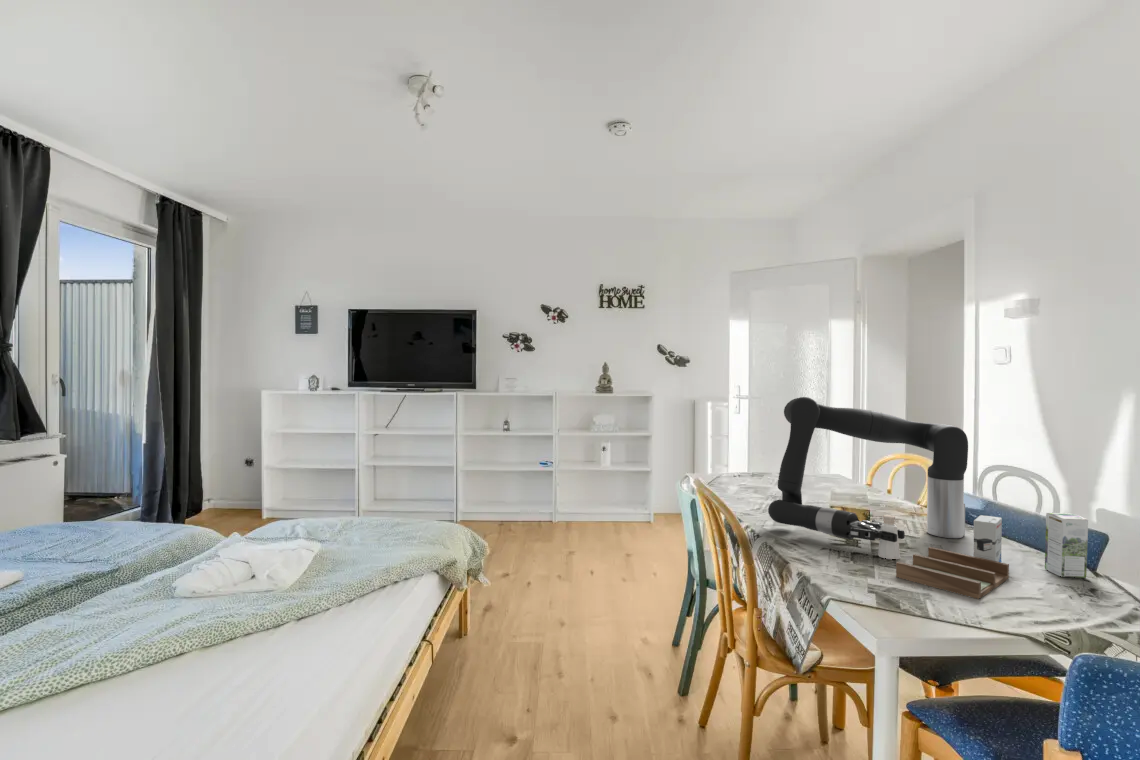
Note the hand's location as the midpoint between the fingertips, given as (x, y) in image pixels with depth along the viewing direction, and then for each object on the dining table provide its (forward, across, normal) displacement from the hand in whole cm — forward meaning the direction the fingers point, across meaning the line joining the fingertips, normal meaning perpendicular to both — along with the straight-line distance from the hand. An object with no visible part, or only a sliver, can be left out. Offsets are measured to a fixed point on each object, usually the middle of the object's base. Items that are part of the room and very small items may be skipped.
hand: (900, 536), depth 151 cm
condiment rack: (+14, -4, +6) cm, 16 cm away
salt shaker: (-3, 0, +6) cm, 7 cm away
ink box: (+15, +14, +6) cm, 22 cm away
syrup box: (+30, +20, +6) cm, 36 cm away
